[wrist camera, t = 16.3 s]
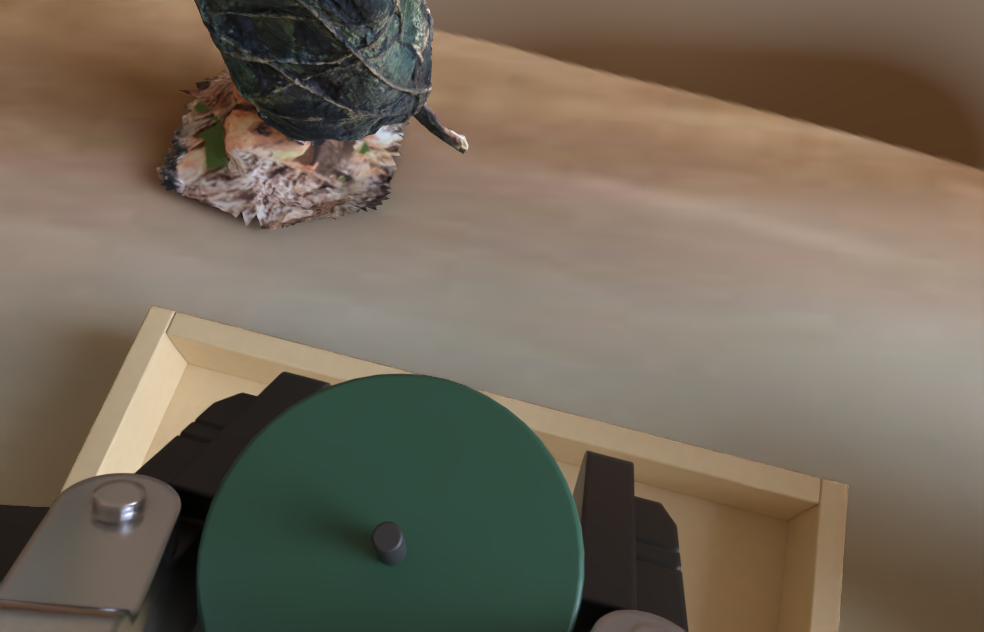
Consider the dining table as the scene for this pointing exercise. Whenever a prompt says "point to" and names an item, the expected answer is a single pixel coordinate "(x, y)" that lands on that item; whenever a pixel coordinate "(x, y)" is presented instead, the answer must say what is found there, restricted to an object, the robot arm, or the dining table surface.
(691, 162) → the dining table surface
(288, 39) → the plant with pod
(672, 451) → the wooden tray
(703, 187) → the dining table surface
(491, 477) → the green candle
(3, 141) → the dining table surface
